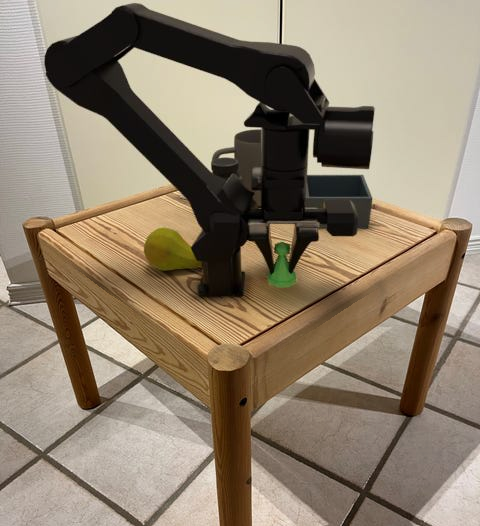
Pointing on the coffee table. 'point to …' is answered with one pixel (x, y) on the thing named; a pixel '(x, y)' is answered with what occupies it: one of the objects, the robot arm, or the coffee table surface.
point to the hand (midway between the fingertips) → (281, 273)
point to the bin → (340, 194)
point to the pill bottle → (225, 168)
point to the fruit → (169, 250)
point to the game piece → (281, 268)
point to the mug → (246, 156)
